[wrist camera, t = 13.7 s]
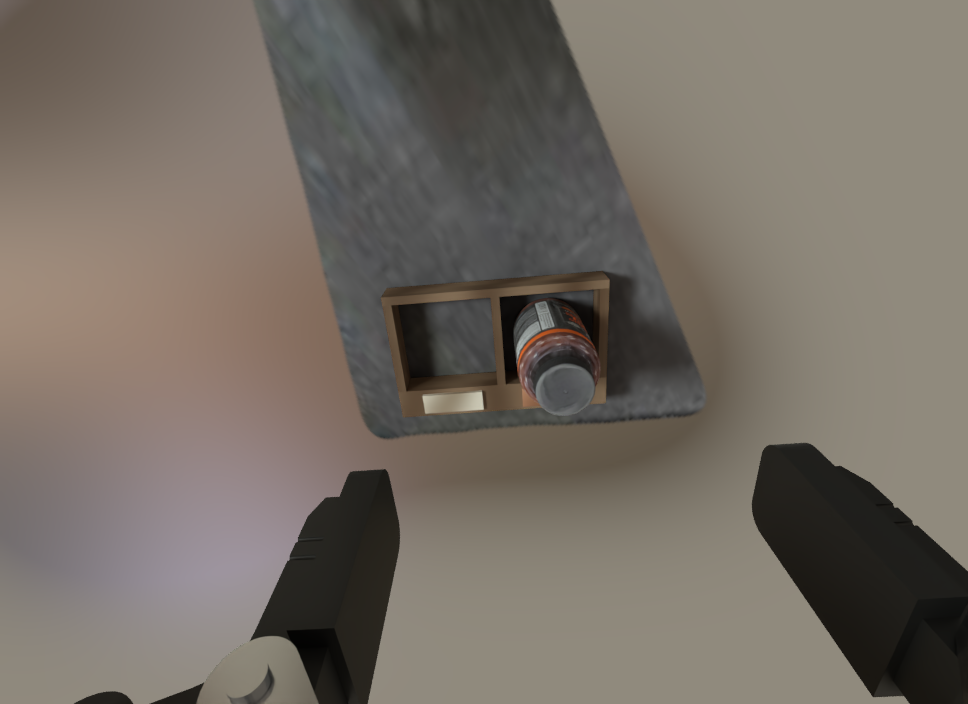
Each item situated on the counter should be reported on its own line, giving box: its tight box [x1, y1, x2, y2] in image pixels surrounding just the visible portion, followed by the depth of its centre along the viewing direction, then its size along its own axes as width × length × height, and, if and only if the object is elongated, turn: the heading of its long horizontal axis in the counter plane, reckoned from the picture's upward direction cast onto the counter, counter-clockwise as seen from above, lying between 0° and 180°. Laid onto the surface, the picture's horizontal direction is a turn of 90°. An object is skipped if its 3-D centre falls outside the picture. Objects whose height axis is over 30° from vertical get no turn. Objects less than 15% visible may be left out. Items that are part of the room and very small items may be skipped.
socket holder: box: [381, 271, 610, 417], centre depth 40 cm, size 18×11×3 cm, turn 95°
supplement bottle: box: [513, 298, 601, 416], centre depth 36 cm, size 6×6×11 cm
